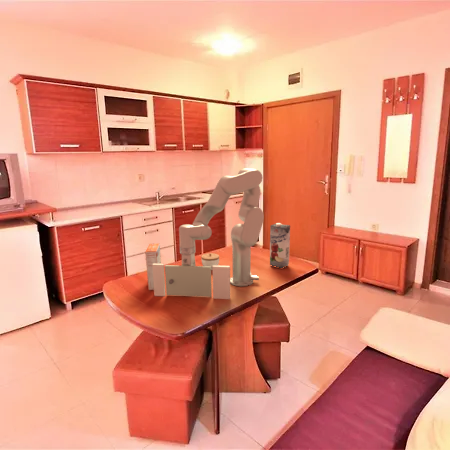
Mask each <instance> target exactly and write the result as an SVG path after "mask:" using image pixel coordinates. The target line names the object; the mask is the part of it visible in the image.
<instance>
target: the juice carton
mask: <svg viewBox="0 0 450 450" xmlns="http://www.w3.org/2000/svg"><path fill="white" fill-rule="evenodd" d="M269 232H270V234H269V239H270V240H269V266H270V265H272V266H276V267H279V268H283V267H285V266H288V267H289V264H290V247H291V246H290V245H291V242H290V241H291V225H289V224H282V223H281V222H276V223H273V224H271V225H270V231H269ZM272 266H271V267H272ZM276 267H275V268H276ZM279 268H278V269H279ZM285 268H286V267H285ZM283 269H284V268H283Z"/></svg>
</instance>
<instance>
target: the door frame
mask: <svg viewBox="0 0 450 450" xmlns="http://www.w3.org/2000/svg"><path fill="white" fill-rule="evenodd" d="M152 266H153V281H154V290H153V293H154V297H165V296H167V295H166V277H165V264H164V263H161V264H155V263H154V264H153V265H152ZM230 278H231V266H230V265H219V264H218V265H213V270H212V299H214V300H215V299H216V300H231V283H230Z"/></svg>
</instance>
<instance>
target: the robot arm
mask: <svg viewBox="0 0 450 450" xmlns="http://www.w3.org/2000/svg"><path fill="white" fill-rule="evenodd" d="M262 181H263V175H262V172H261V171H260V170H258V169H257V168H249V167H246V168H245V167H244V168H241V169H239V171H238V173H237V175H233V176H232V175H223V176H222V177H220V178H219V180H218V181H217V184H216V185H215V187H214V190H212V193H211V195H210V197H209V198H208V200H207V201H206V203H205V204H204V205H203V207H201V209H200V210H199V211H198V213H197V214H196V216H195V218H194V220H193V221H192V224H189V223H188V224H187V223H186V224H182V225H180V226H179V227H178V234H179V235H178V236H179V254H180V255H181V266H197V265H196V240H198V241H205V240H208V239H210V238H211V236H212V233H213V232H212V228H211V227H210V226H209V225H208V224H209V223H210V221H211V220H212V218H213V217H214V216H215V215H217V214H218V213H220V212H222V211H223V210H224V209H225V207H226V206H227V203H228V201H229V199H230V198H231V196H233V195H237V194H242V193H243V196H242V200H241V202H240V207H239V209H238V218H239V219H240V221H242V222H244V223H237V224H235V225H234V226H233V227H232V229H231V231H230V239H231V243H232V244H231V245H232V246H231V247H232V277H230V285H232V286H236V287H248V285H249V286H251V285H253V283H254V281H259V280H260V276H257V275H256V274H254V275H253V274H252V272H251V264H252V263H251V251H252V250H251V247H253V246H254V245H256V244H257V242H258V239H259V237H260V233H261V230H262V228H263V227H262V226H263V223H264V218H265V217H264V212H263V210H262V208H260V207H259V202H260V198H261V187H260V185H261V183H262Z"/></svg>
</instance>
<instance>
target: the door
mask: <svg viewBox="0 0 450 450" xmlns="http://www.w3.org/2000/svg"><path fill="white" fill-rule="evenodd" d="M164 277H165V294H166V295H165V296H176V297H177V296H180V297H184V296H185V297H199V298H200V297H203V298H212V297H213V289H212V270H211V267H210V266H203V265H196V266H182V265H178V264H177V265H176V264H175V265H173V264H171V265H170V264H164Z"/></svg>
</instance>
